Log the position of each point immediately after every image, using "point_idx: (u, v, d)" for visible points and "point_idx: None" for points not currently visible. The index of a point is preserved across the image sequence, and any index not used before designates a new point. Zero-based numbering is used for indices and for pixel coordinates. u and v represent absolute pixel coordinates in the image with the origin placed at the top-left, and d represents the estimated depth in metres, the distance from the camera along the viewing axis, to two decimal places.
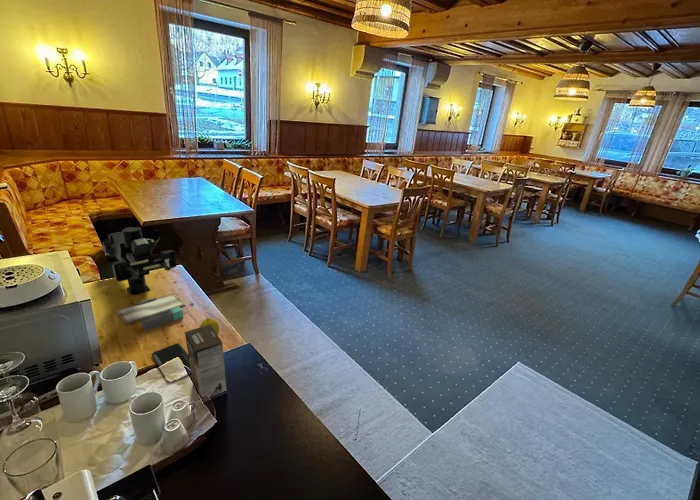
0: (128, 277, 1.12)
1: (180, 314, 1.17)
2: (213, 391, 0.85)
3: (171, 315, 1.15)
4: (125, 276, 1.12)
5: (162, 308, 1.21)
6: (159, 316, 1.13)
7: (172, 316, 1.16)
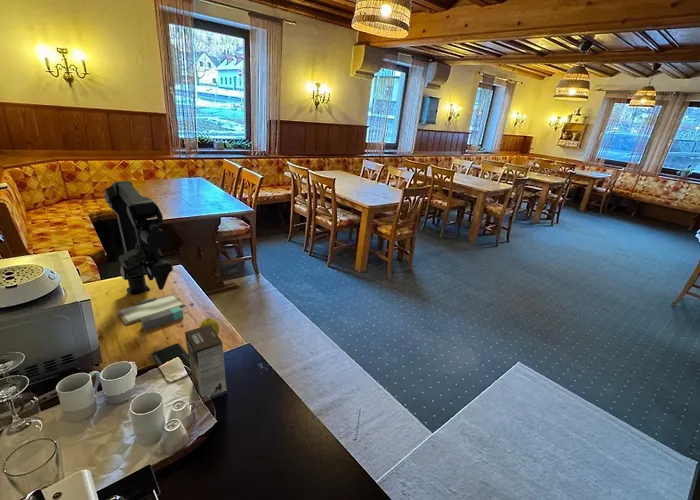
0: None
1: (180, 314, 1.17)
2: (213, 391, 0.85)
3: (171, 315, 1.15)
4: None
5: (162, 308, 1.21)
6: (159, 316, 1.13)
7: (172, 316, 1.16)
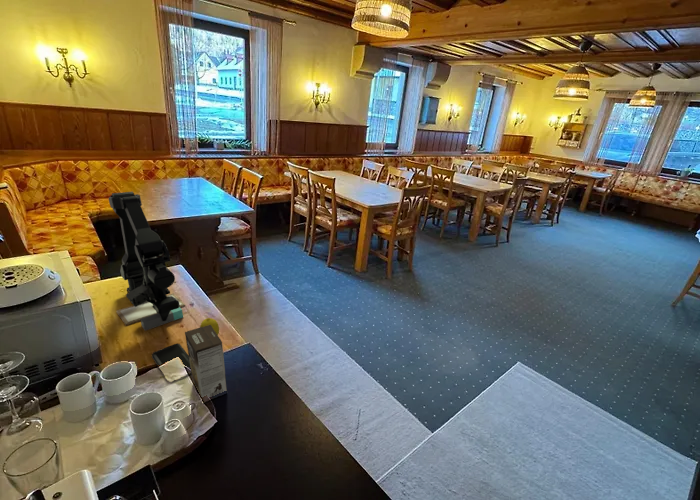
0: None
1: (180, 314, 1.17)
2: (213, 391, 0.84)
3: (171, 315, 1.15)
4: None
5: None
6: (159, 316, 1.13)
7: (172, 316, 1.16)
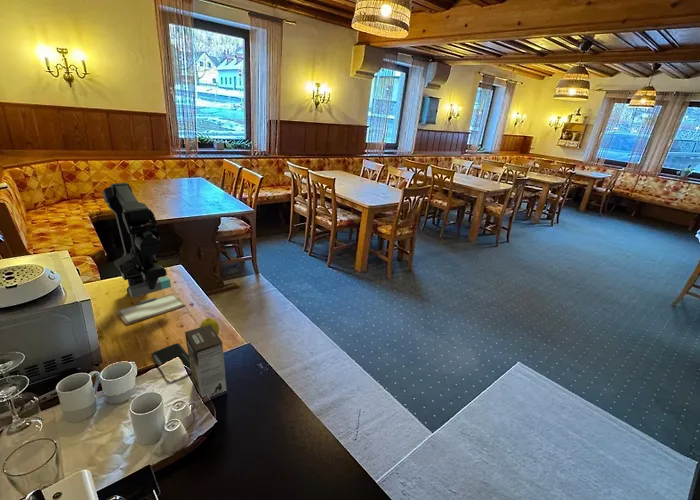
0: None
1: (168, 283, 1.19)
2: (213, 391, 0.85)
3: (159, 284, 1.17)
4: None
5: (162, 308, 1.21)
6: (147, 284, 1.15)
7: (160, 285, 1.18)
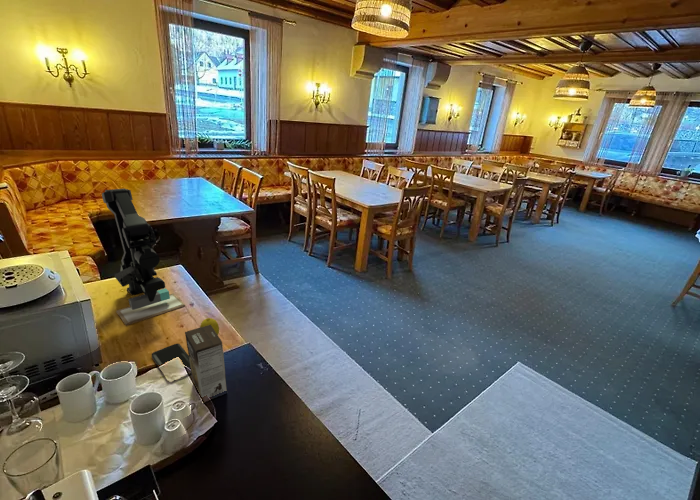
0: None
1: (167, 295, 1.23)
2: (213, 391, 0.85)
3: (158, 296, 1.21)
4: None
5: (162, 308, 1.21)
6: (146, 296, 1.19)
7: (159, 297, 1.22)
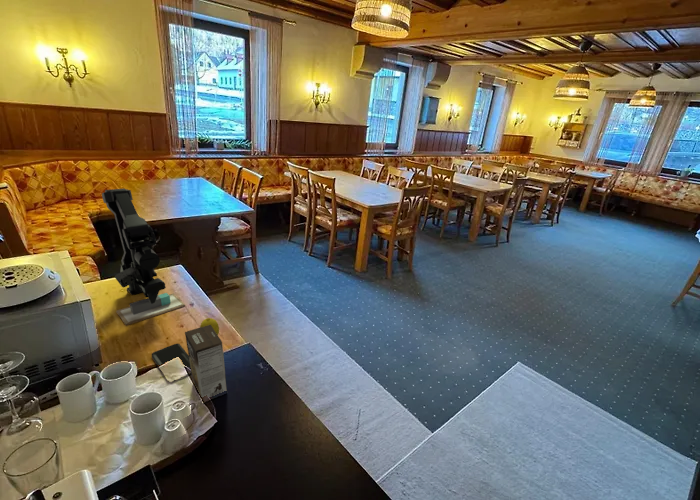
0: None
1: (168, 299, 1.24)
2: (213, 391, 0.85)
3: (159, 300, 1.22)
4: None
5: (162, 308, 1.21)
6: (147, 301, 1.20)
7: (160, 301, 1.22)
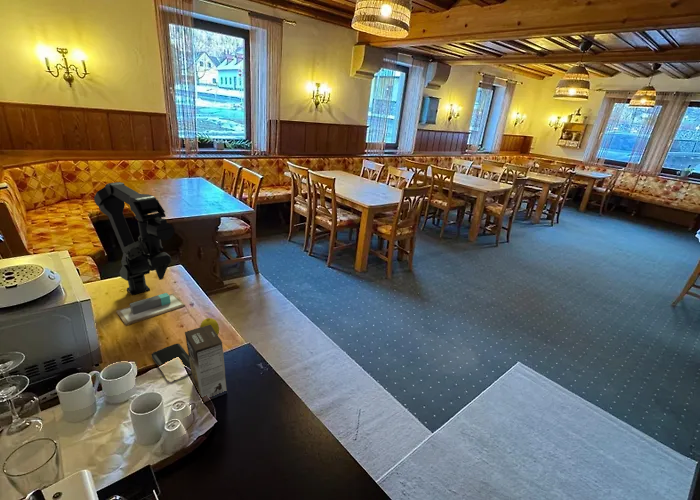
0: None
1: (168, 299, 1.24)
2: (213, 390, 0.85)
3: (159, 300, 1.22)
4: None
5: (162, 308, 1.21)
6: (147, 301, 1.20)
7: (160, 301, 1.22)
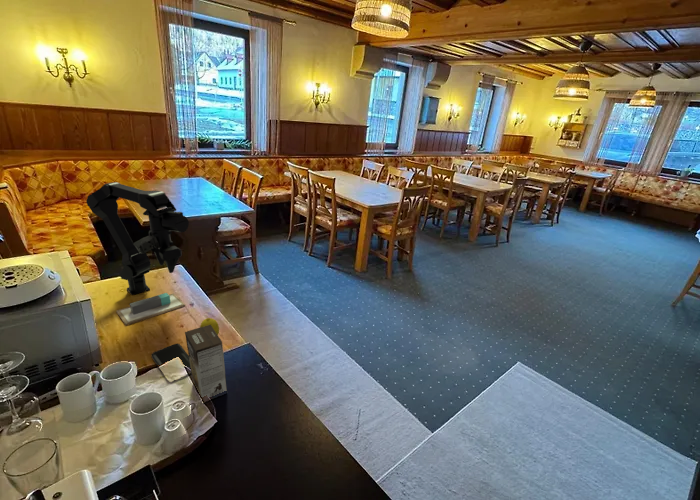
0: None
1: (168, 299, 1.24)
2: (213, 391, 0.85)
3: (159, 300, 1.22)
4: None
5: (162, 308, 1.21)
6: (147, 301, 1.20)
7: (160, 301, 1.22)
